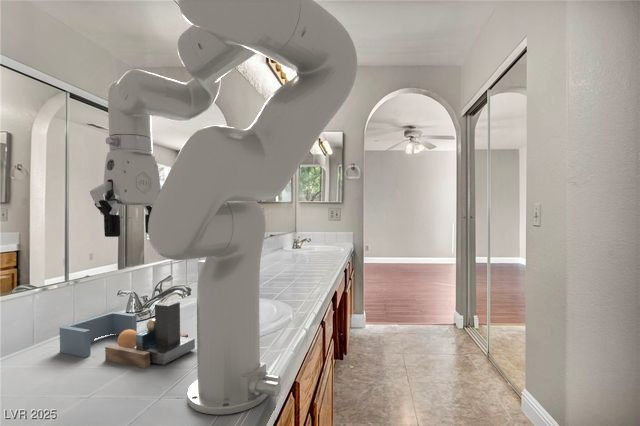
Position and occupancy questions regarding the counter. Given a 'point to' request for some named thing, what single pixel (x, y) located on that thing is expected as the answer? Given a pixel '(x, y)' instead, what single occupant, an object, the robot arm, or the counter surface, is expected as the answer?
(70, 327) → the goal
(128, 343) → the ball
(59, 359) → the counter surface
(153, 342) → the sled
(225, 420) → the counter surface
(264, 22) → the robot arm
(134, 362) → the rail
